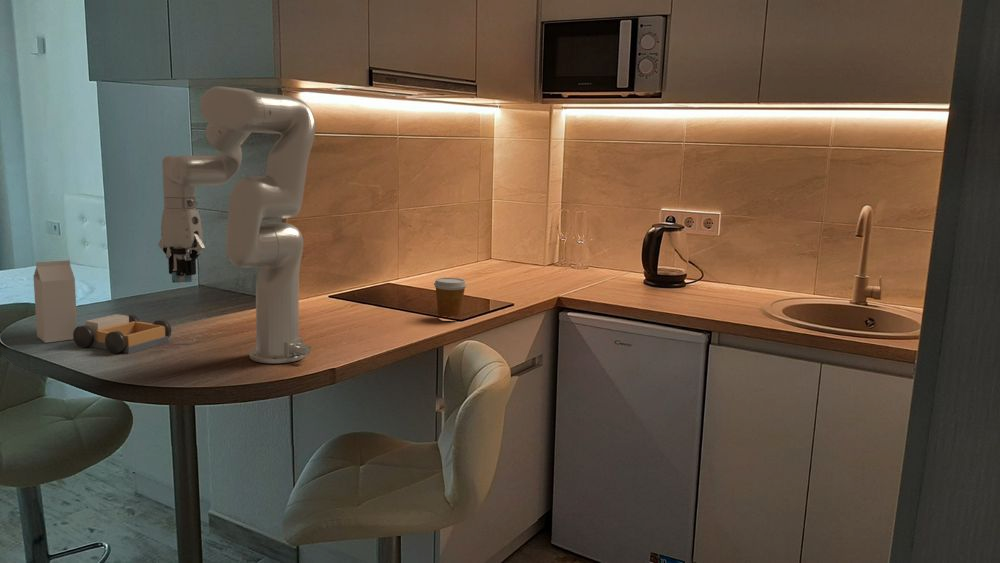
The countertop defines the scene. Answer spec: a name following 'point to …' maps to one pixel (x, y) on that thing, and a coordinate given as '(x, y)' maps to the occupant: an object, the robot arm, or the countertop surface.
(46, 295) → the milk carton
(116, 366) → the countertop surface
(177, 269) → the push button
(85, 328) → the chassis
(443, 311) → the disposable coffee cup
